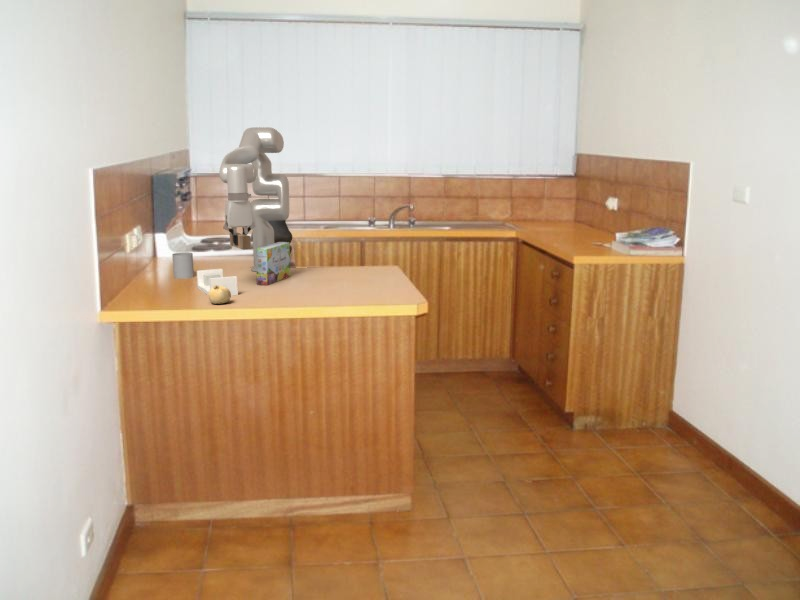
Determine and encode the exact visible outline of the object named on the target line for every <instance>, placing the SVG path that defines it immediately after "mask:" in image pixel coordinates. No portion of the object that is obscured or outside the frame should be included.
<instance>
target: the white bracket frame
mask: <svg viewBox="0 0 800 600" xmlns="http://www.w3.org/2000/svg"><path fill="white" fill-rule="evenodd" d="M196 281H197V282H196V283H197V289H199V290H200V291H201V292H203V293H204V294H205V295H207V296H208V294H209V291H210V290H211V289H212V288H213V286H215V285H219V286H224V287H226V288H228V289H229V291H230V292H231V296H238V295H239V293H238V289H239V288H238V276H236V275H233V276H224V270H223V268H213V269H211V268H210V269H201V270H196Z"/></svg>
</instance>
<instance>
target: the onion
mask: <svg viewBox="0 0 800 600" xmlns="http://www.w3.org/2000/svg"><path fill="white" fill-rule="evenodd" d="M207 297H208V300H209V302H210V303H211V304H215V305H216V304H219V305H220V304H228V303H229V302H230V300H231V297H232V295H231V292H230V291H229V289H228V288H226V287H224V286H219V285H215V286H213V288H212V289H211V290H210V291H209V294H208V295H207Z"/></svg>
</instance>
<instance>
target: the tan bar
mask: <svg viewBox="0 0 800 600" xmlns="http://www.w3.org/2000/svg"><path fill="white" fill-rule="evenodd" d="M237 235H238V246H236V245H234V243H233V235H232V234H231V233H230V232H229V245H230V246H231V247H234V248H238V249H239V250H252V238H251V235H249V234H247V235H244V234H242V233H240V232H237Z"/></svg>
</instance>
